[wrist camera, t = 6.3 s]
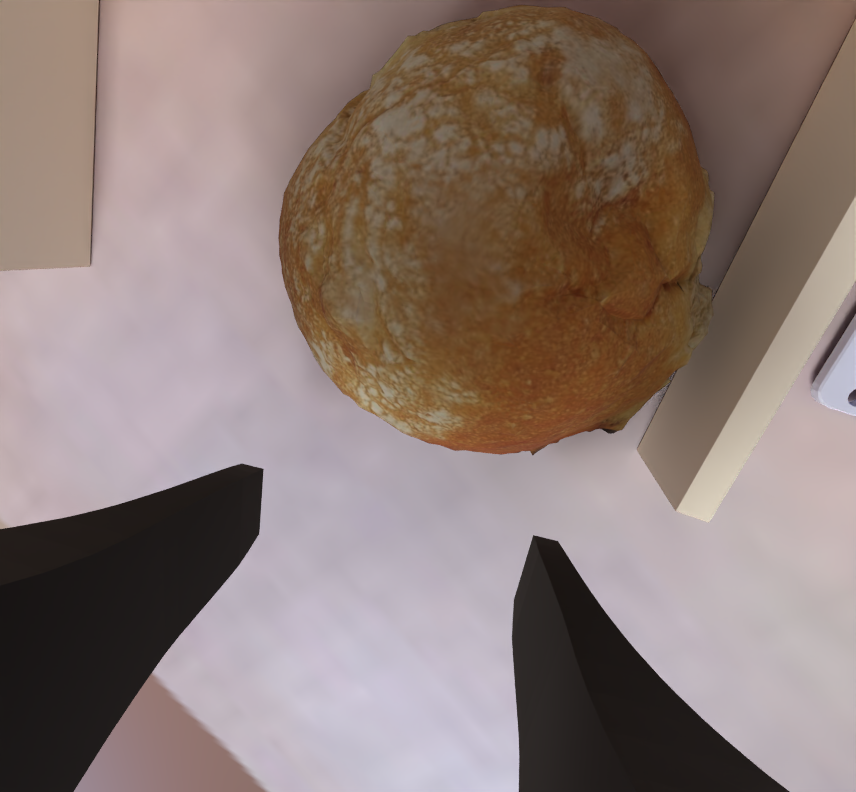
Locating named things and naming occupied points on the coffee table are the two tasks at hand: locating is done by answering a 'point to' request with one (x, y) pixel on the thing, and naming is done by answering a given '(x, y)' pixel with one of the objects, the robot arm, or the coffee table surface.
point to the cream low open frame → (692, 384)
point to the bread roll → (502, 234)
